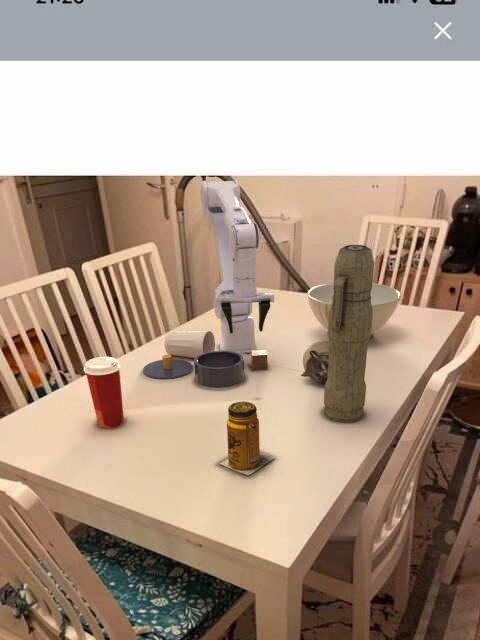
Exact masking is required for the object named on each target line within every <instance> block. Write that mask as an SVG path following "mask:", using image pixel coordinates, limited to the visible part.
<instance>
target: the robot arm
mask: <svg viewBox="0 0 480 640" xmlns="http://www.w3.org/2000/svg"><path fill="white" fill-rule="evenodd" d="M200 202H201V209H202V214H203V217H204V220H205V221H207V222H209V223H210V224H211V228H212V232H213V238H214V243H215V250H216V255H217V263H218V268H219V275H220V284H219V285H218V286H217V287H216V288H214V291H213V309H214V314H215V315H214V316H215V318H217V319H219V320H220V336H221V337H220V339H221V343H219V348H220V351H230V352H235V353H245V354H248V353H249V354H250V351H253V350H256V345H255V344H256V336H255V335H256V334H255V332H256V331H255V320H254V318H253V317H252V316H251V314H252V313H253V303H258V330H259V332H263V331H264V324H265V322H266V321H265V320H266V318H267V315H268V313H269V311H270V310H271V305H272V304H271V303H275V293H274V292H263V291H262V292H257V249H258V248H259V245H260V232H259V231H260V230H259V227H258V226H259V225H258V224H257V222H253V221H251V220H250V219H249V216H248V215H247V213H246V210H245V209H244V208H243V207H242V206H241V205H240V203H241V187H240V182H238V181H237V180H236V179H234V180H223V181H202V182H201V185H200Z"/></svg>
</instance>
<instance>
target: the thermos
mask: <svg viewBox="0 0 480 640" xmlns="http://www.w3.org/2000/svg"><path fill="white" fill-rule="evenodd" d="M372 250H373V249H372V248H371V247H369V246H367V245H363V244H348V245H343V247H341V248H339V250H338V252H337V255H336V258H335V262H334V265H333V266H334V267H333V268H334V269H333V283H334V284H333V289H334V295H333V301H332V304H331V307H330V310H329V319H328V330H327V338H328V340H330V343H329V362H328V379H327V382H325V384H324V390H323V405H324V410H323V415H324V417H326V419H328V420H330V421H334V422H337V423H352V422H357V421H359V420H361V419H362V418H363V417H364V407H365V404H366V396H367V395H366V394H367V383H366V381H365V377H366V368H367V367H366V366H367V357H368V356H367V355H368V346H369V345H368V344H369V341H370V339H371V337H372V335H371V328H372V317H373V309H372V304H371V295H370V294H371V290H372V283H374V270H375V260H374V259H375V258H374V255H373V251H372Z"/></svg>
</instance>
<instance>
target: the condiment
mask: <svg viewBox="0 0 480 640" xmlns="http://www.w3.org/2000/svg"><path fill="white" fill-rule="evenodd" d="M227 411H228V414H227V417H228V418H227V420H226V435H227V438H226V439H227V455H228V457H227V459H225V460H223V461H222V462H220V463H218V464H219V465H221V466H223V467H226V468H228V469H230V470H232V471H235V472H237V473H240V474H243V475H246V476H250V475H252V474H253V473H255V472H256V471H258V470H260V469H261V468H262V467H264V466H265V465H266V464H268V463H270V462H272V460H273V459H275V458H276V456H273V455H269V454H266V453H263V452H261V449H260V420H259V418H258V413H257V411H258V409H257V406H256V405H255V403H252V402H249V401H236V402H233V403H231V404H230V405H229V406H228V408H227Z"/></svg>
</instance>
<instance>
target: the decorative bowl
mask: <svg viewBox="0 0 480 640" xmlns="http://www.w3.org/2000/svg"><path fill="white" fill-rule="evenodd" d="M333 284H334V282H329V283H324V284H320V285H317V286H314V287H312V288H310V289H308V291H307V295H306V296H307V300H308V304H309V307H310V309H311V313H312V314H313V316H314V318H315V319H316V320H317V321H318V323H319V324H320V326H322V327H323V328H324V329H325V330H327V331H328V319H329V310H330V307H331V304H332V301H333V295H334V289H333ZM401 293H402V292H400V290H398V289H397V288H394V287H392V286H389V285H385V284H381V283H376V282H375V283H374V282H373V283H372V290H371V294H370V295H371V304H372V309H373V317H372V328H371V336H372V334H373V333H375V332H376V331H378V330H379V329H381V328H382V327H383V326H384V325H385V324H387V322H388V321H389V320H390V319H391V318H392V317H393V316H394V314H395V312H396V310H397V308H398V306H399V304H400V301H401V299H402V294H401Z"/></svg>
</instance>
